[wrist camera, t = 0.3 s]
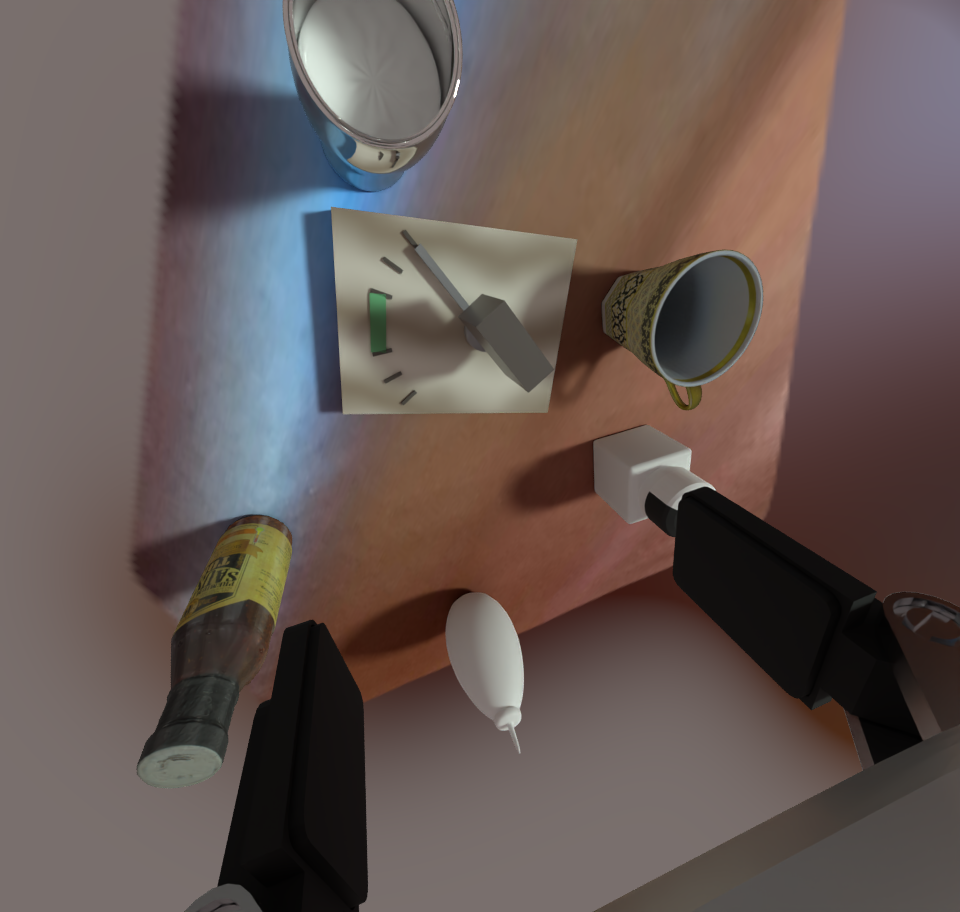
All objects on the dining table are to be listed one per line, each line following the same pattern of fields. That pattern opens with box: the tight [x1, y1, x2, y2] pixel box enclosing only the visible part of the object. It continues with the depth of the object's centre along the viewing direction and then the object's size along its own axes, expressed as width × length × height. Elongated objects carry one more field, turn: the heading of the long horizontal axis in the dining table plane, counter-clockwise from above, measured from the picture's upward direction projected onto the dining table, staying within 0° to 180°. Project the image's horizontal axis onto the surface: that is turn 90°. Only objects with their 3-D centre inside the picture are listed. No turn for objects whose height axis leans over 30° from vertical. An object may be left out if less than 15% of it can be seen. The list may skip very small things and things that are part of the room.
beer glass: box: [283, 0, 462, 192], centre depth 21 cm, size 7×7×15 cm
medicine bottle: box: [593, 425, 716, 537], centre depth 42 cm, size 7×7×12 cm
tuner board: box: [331, 207, 577, 414], centre depth 34 cm, size 15×19×2 cm
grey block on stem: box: [414, 244, 554, 393], centre depth 29 cm, size 3×11×8 cm, turn 40°
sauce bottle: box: [137, 515, 292, 788], centre depth 30 cm, size 7×6×20 cm
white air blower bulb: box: [446, 592, 524, 754], centre depth 42 cm, size 8×8×18 cm
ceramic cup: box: [602, 250, 763, 410], centre depth 35 cm, size 13×10×10 cm
